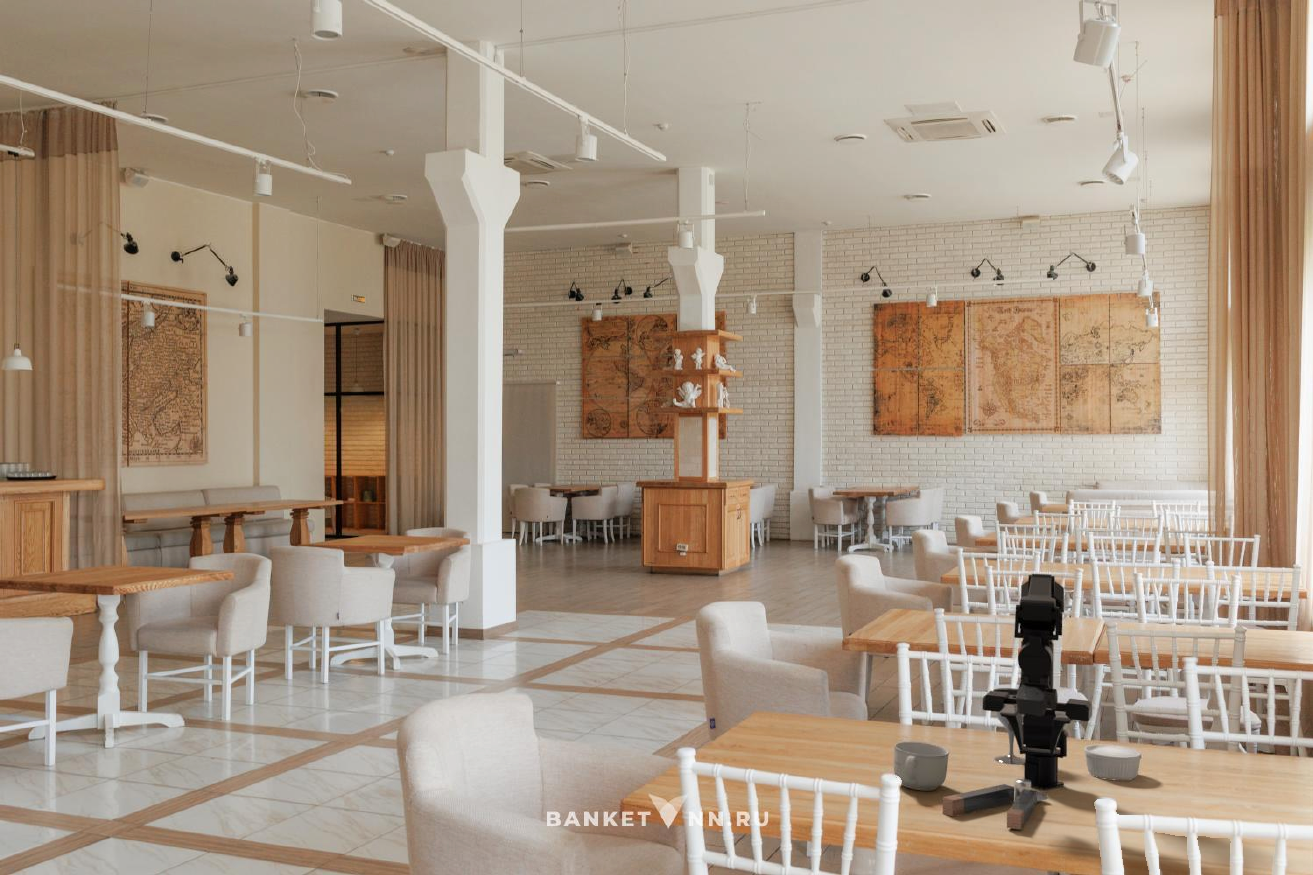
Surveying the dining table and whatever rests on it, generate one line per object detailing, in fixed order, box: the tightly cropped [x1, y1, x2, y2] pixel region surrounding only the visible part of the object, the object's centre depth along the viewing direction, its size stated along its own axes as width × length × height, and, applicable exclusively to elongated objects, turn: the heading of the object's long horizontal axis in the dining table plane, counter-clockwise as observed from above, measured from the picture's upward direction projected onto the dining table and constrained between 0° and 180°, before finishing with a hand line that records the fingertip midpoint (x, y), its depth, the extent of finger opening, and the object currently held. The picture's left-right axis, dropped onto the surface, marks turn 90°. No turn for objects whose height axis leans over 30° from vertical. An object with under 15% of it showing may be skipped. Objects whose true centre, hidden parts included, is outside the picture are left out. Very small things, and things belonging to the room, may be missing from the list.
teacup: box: [893, 741, 950, 792], centre depth 230 cm, size 14×11×8 cm
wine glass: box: [992, 687, 1025, 765], centre depth 253 cm, size 8×8×15 cm
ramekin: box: [1083, 744, 1142, 781], centre depth 242 cm, size 11×11×5 cm
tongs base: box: [942, 778, 1048, 818], centre depth 218 cm, size 23×5×4 cm, turn 123°
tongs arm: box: [1006, 789, 1037, 831], centre depth 212 cm, size 17×2×3 cm, turn 153°
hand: (1036, 752), depth 212 cm, fingers open, 5 cm apart
